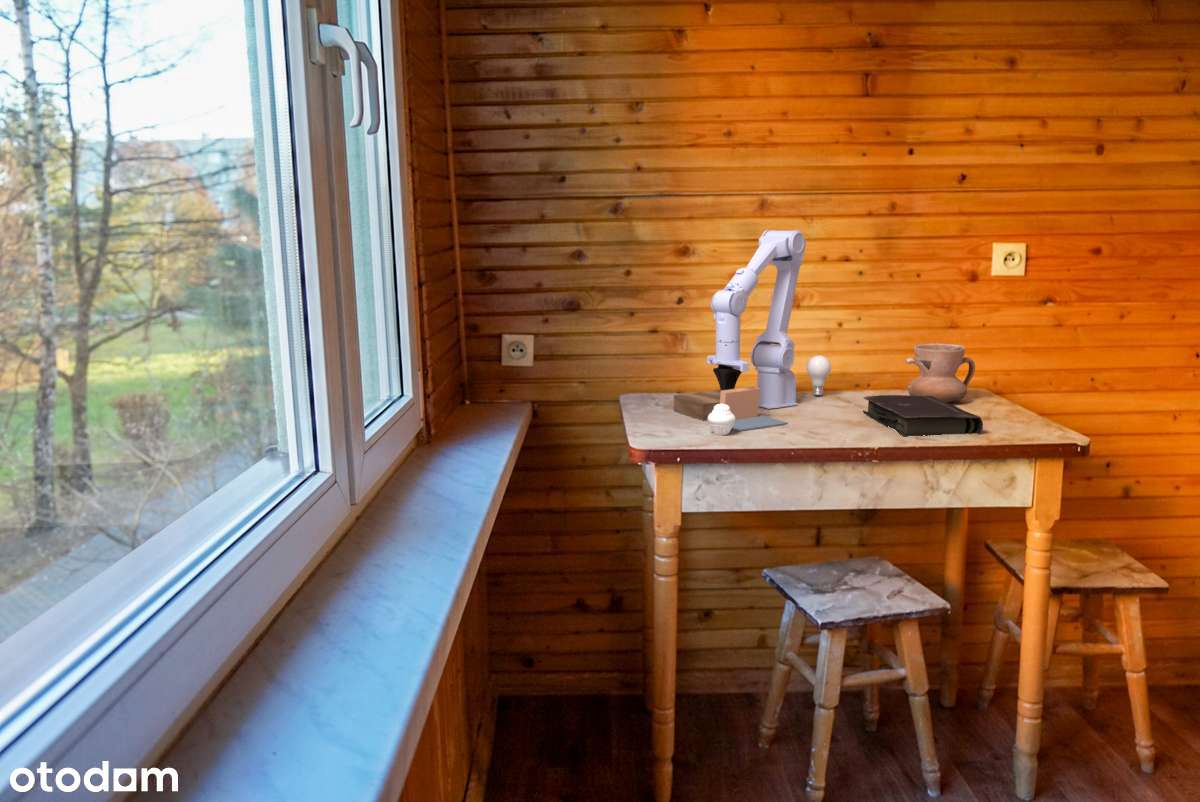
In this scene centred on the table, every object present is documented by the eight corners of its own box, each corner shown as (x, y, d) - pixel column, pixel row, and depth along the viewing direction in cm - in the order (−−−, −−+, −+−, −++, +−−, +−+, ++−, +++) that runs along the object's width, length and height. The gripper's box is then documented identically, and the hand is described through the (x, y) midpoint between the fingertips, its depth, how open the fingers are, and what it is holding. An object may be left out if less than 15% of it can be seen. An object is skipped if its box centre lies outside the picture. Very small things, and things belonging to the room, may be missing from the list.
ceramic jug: (912, 407, 234) (915, 350, 232) (895, 396, 249) (897, 342, 246) (984, 406, 234) (988, 350, 231) (963, 395, 248) (966, 342, 246)
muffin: (738, 432, 210) (739, 401, 209) (730, 438, 205) (730, 406, 203) (712, 429, 213) (713, 399, 212) (703, 435, 207) (703, 404, 206)
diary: (933, 414, 230) (934, 394, 229) (982, 437, 205) (984, 415, 204) (859, 415, 228) (860, 394, 227) (899, 439, 204) (901, 416, 203)
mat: (753, 414, 228) (753, 412, 228) (788, 424, 217) (788, 422, 217) (706, 420, 222) (706, 419, 222) (738, 431, 210) (739, 429, 210)
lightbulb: (802, 394, 252) (804, 353, 250) (826, 393, 253) (827, 353, 251) (809, 398, 246) (810, 357, 244) (833, 398, 247) (834, 356, 244)
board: (722, 404, 240) (723, 389, 239) (754, 413, 229) (754, 397, 228) (673, 411, 233) (673, 395, 232) (703, 420, 222) (703, 404, 221)
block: (755, 386, 223) (760, 388, 221) (752, 414, 225) (757, 416, 224) (720, 390, 219) (725, 393, 217) (718, 418, 221) (723, 421, 219)
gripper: (696, 338, 227) (696, 393, 230) (732, 345, 214) (731, 403, 217) (720, 336, 230) (720, 391, 233) (757, 343, 218) (755, 400, 220)
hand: (727, 397), depth 225 cm, fingers closed
